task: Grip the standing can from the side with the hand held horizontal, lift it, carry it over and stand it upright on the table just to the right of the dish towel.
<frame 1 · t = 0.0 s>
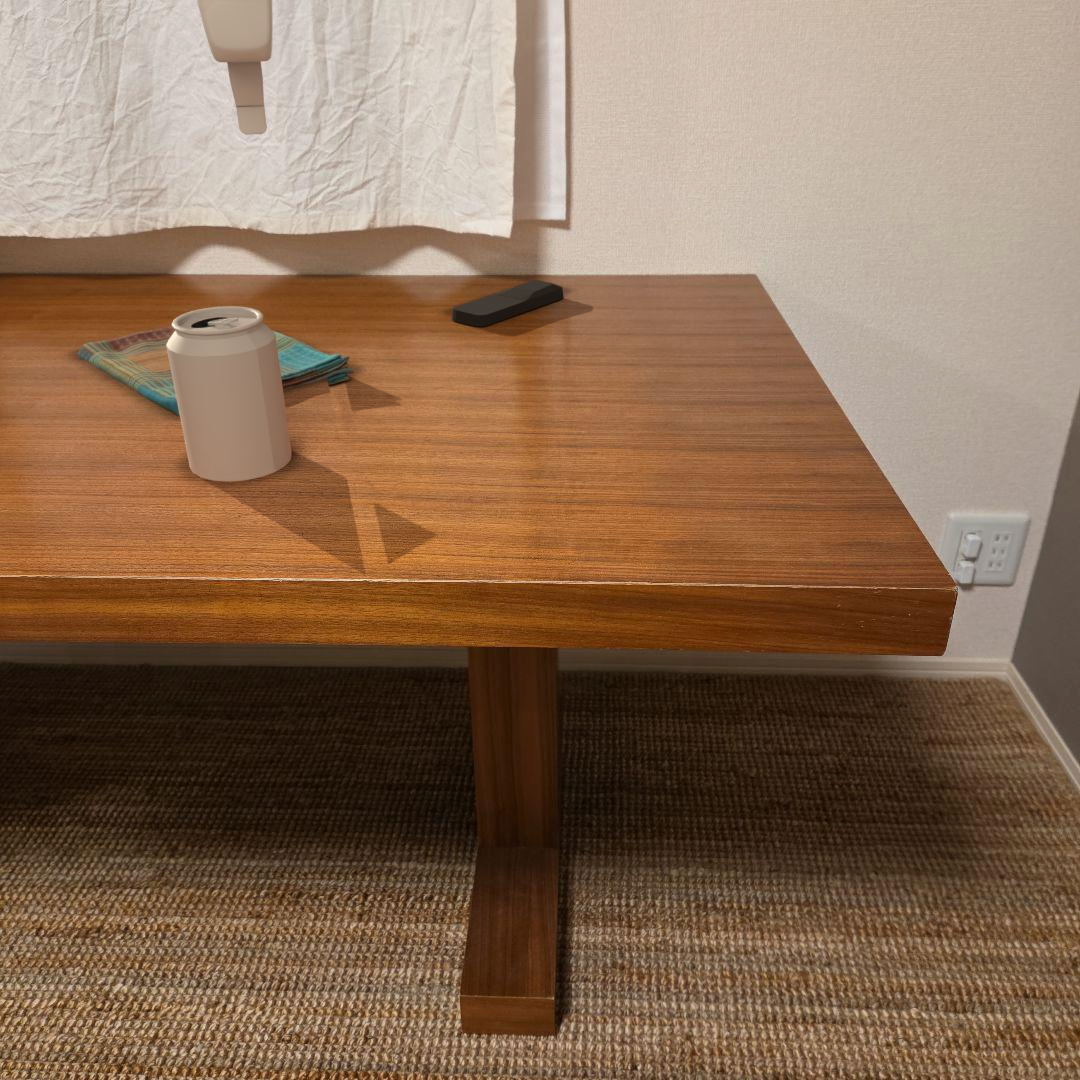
hand: (253, 125, 73), 24 cm above the table, tool pointing down, fingers open, 8 cm apart
dish towel: (212, 373, 96), on the table
can: (243, 473, 77), on the table
remote control: (509, 310, 114), on the table
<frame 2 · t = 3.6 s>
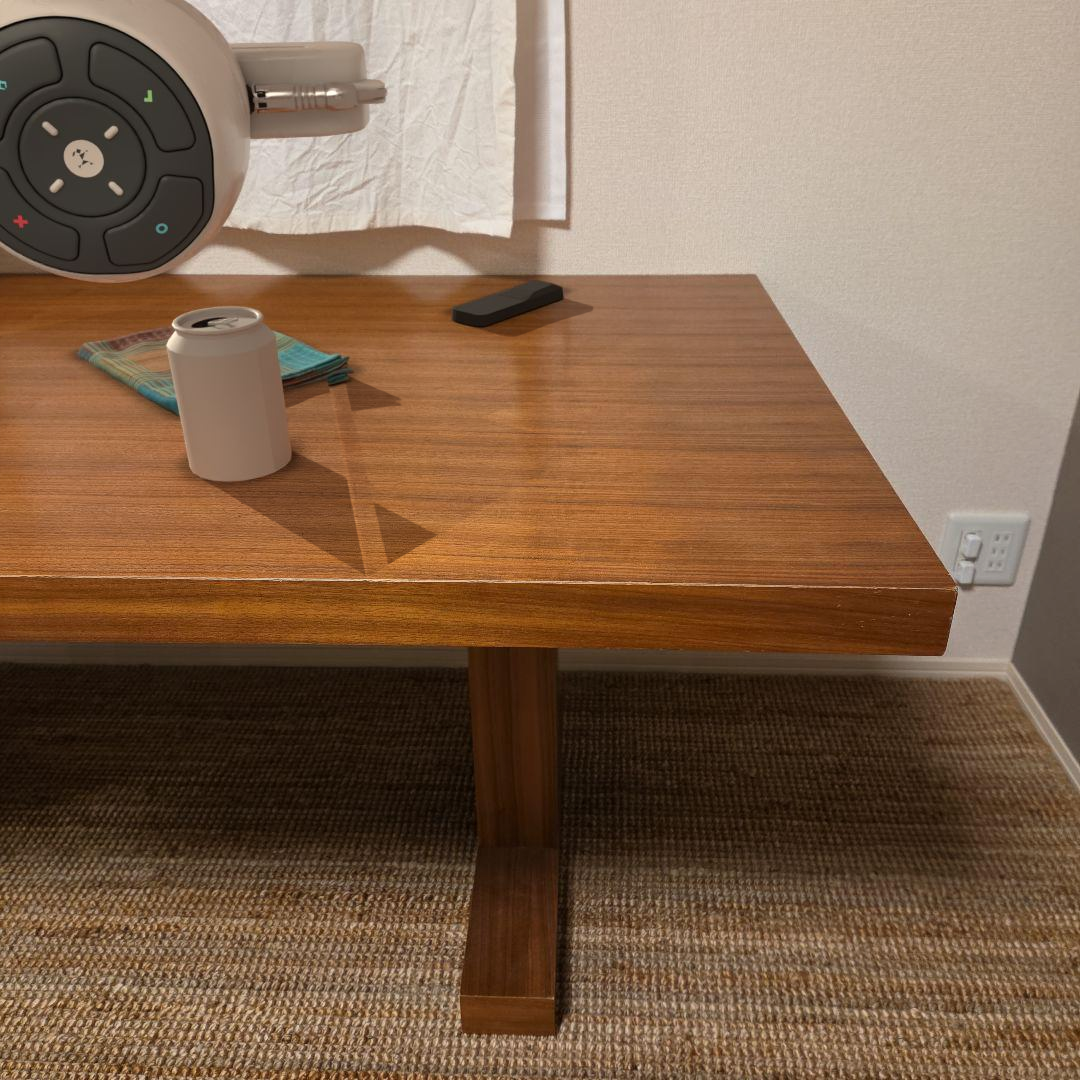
hand: (162, 79, 53), 28 cm above the table, tool horizontal, fingers open, 8 cm apart
nothing on the table moved.
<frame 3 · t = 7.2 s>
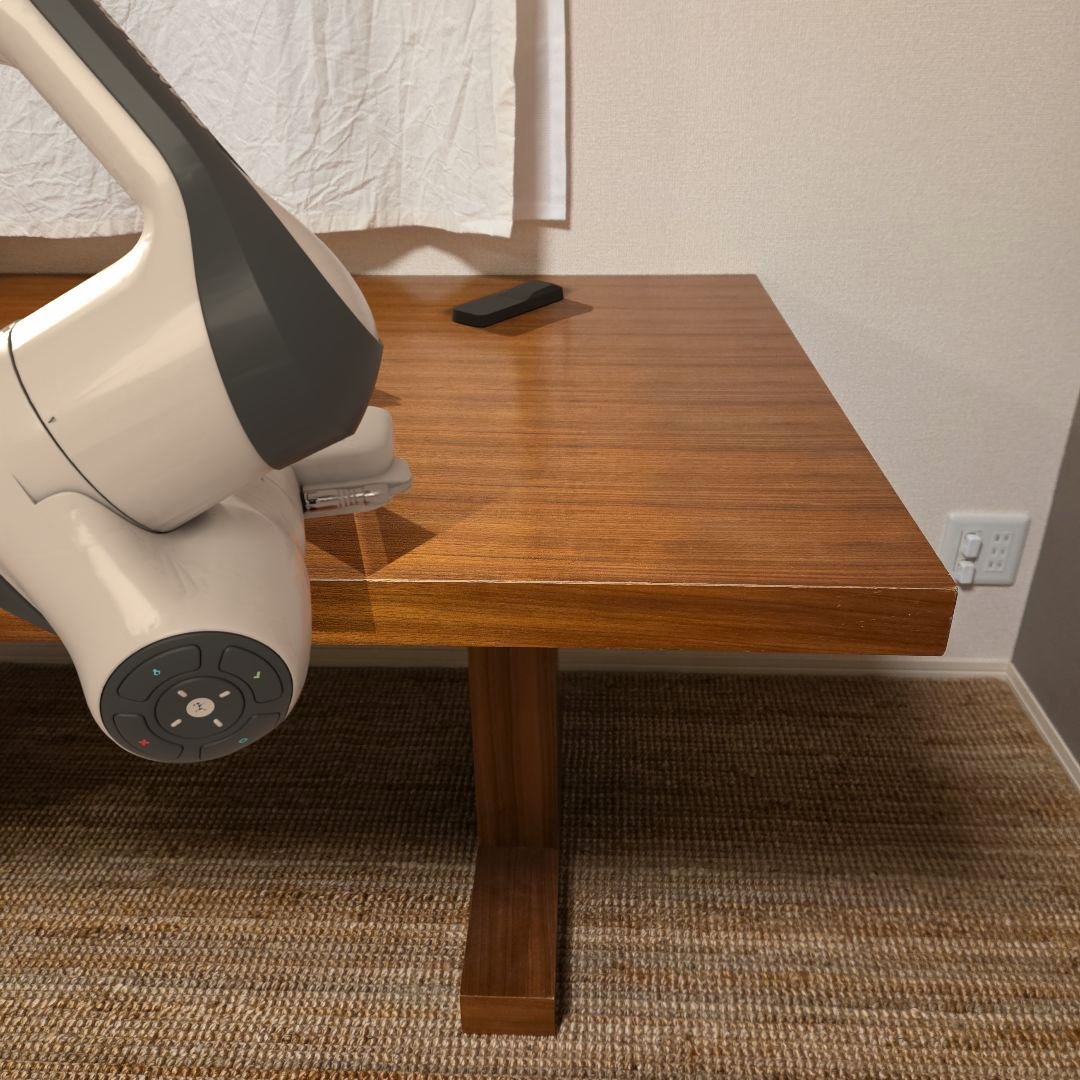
hand: (221, 417, 63), 9 cm above the table, tool horizontal, fingers open, 8 cm apart
nothing on the table moved.
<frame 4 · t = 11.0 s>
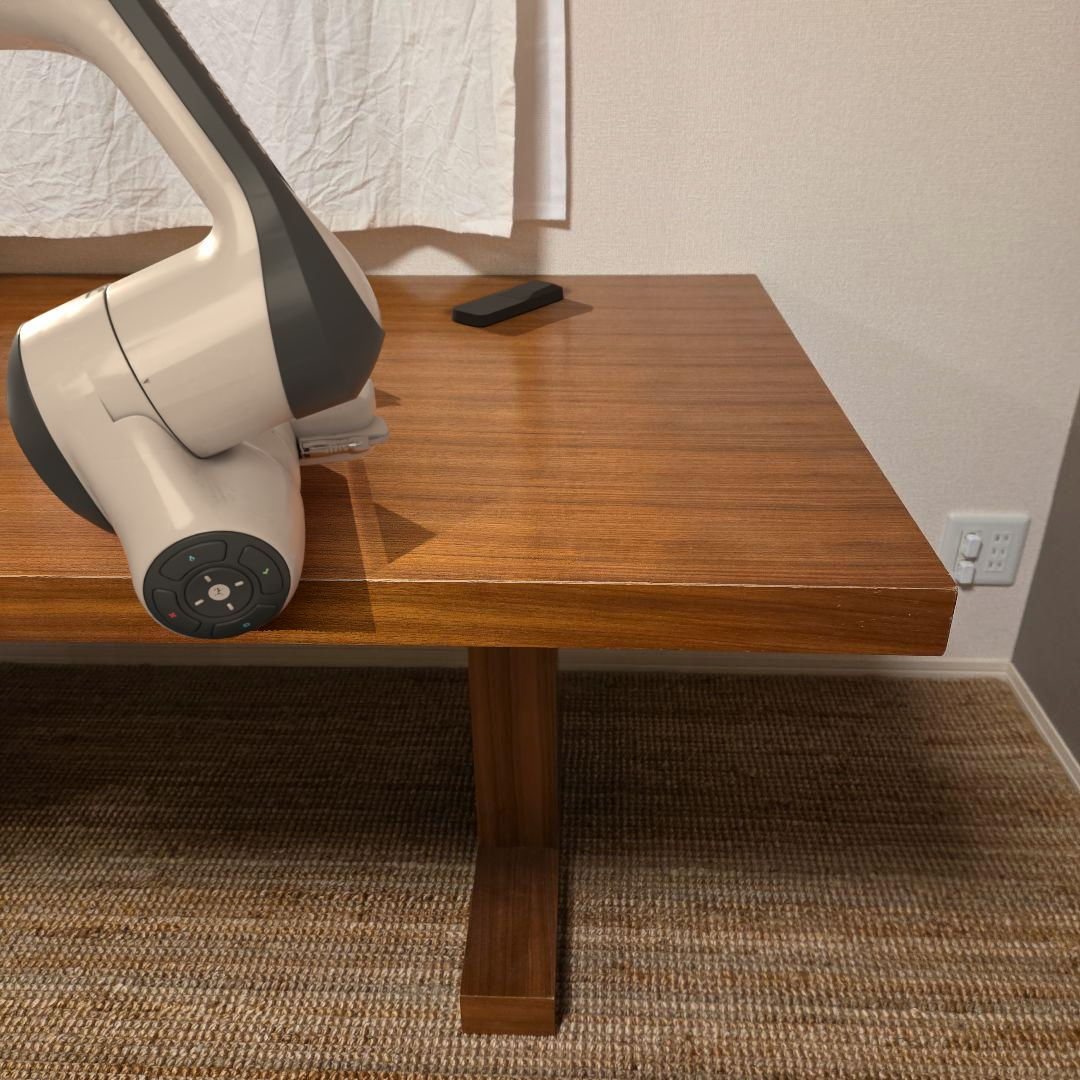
hand: (229, 386, 74), 6 cm above the table, tool horizontal, fingers closed on can, 7 cm apart
can: (244, 473, 77), on the table, touching gripper
everything else where it was.
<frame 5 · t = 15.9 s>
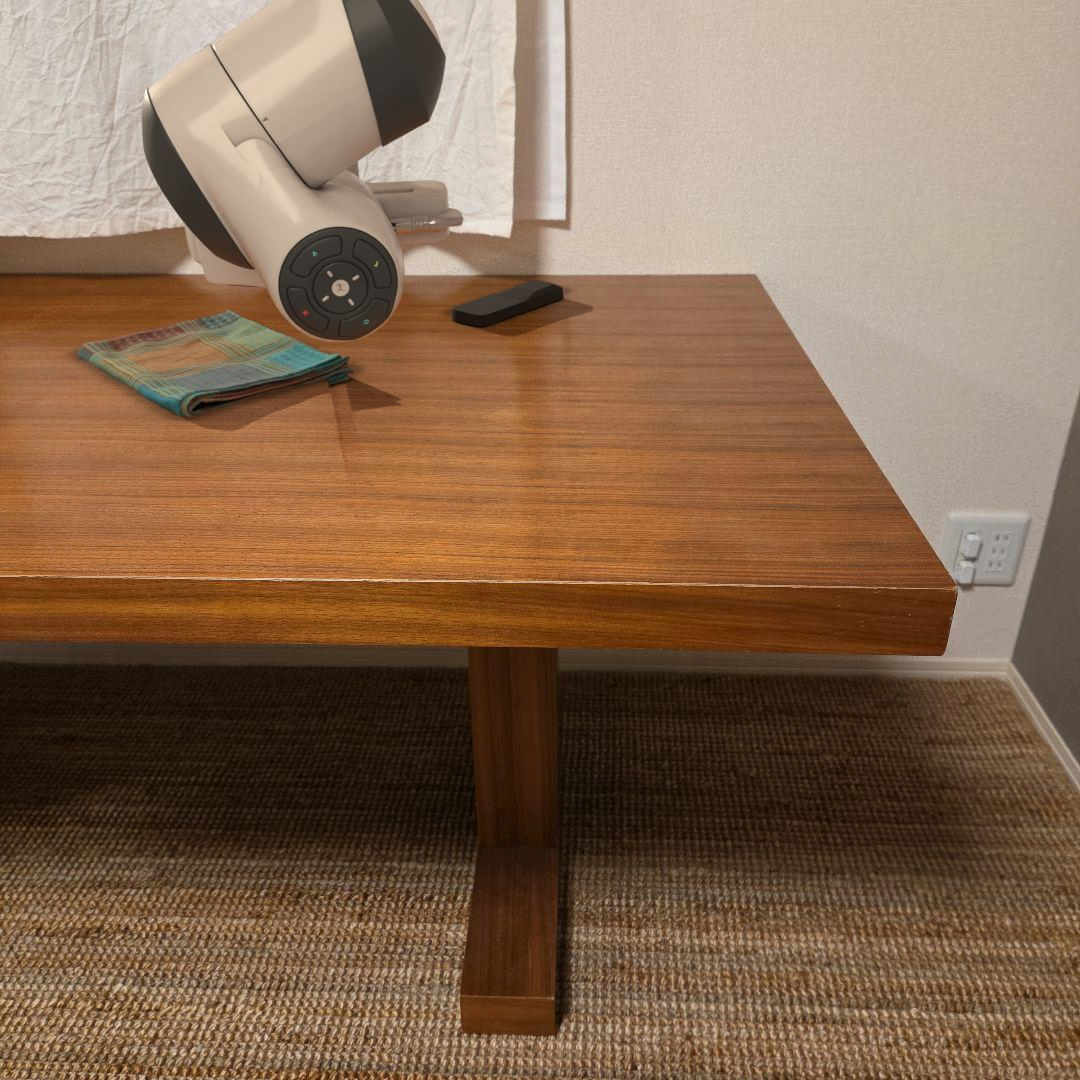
hand: (314, 197, 83), 17 cm above the table, tool horizontal, fingers closed on can, 7 cm apart
can: (324, 280, 86), point 10 cm above the table, touching gripper
everything else where it was.
when the fingers open (6 cm above the table, at t = 21.1 s): can stays where it is, on the table.
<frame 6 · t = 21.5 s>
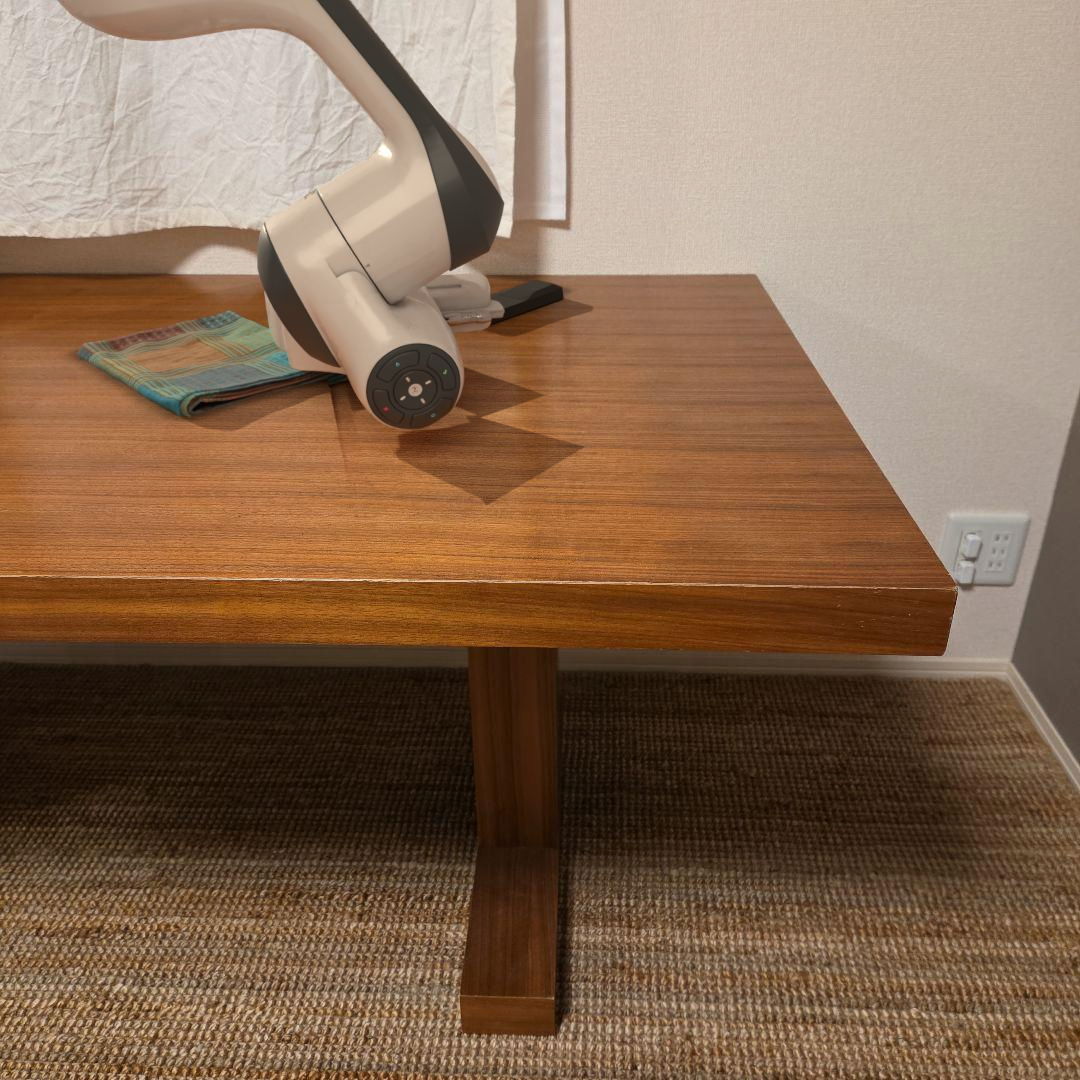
hand: (372, 284, 97), 7 cm above the table, tool horizontal, fingers open, 8 cm apart
can: (382, 358, 100), on the table
everything else where it was.
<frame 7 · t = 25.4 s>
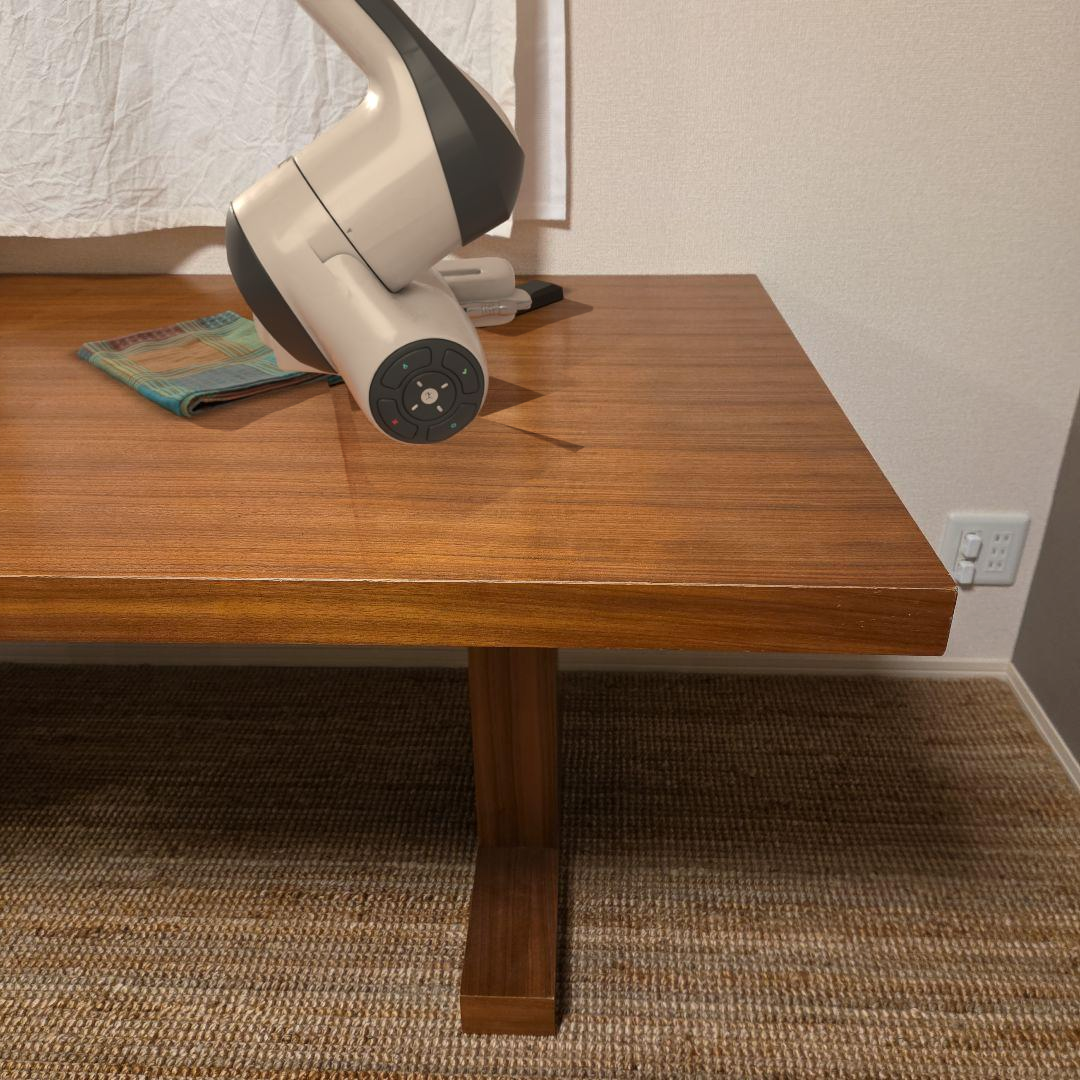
hand: (375, 271, 83), 12 cm above the table, tool horizontal, fingers open, 8 cm apart
nothing on the table moved.
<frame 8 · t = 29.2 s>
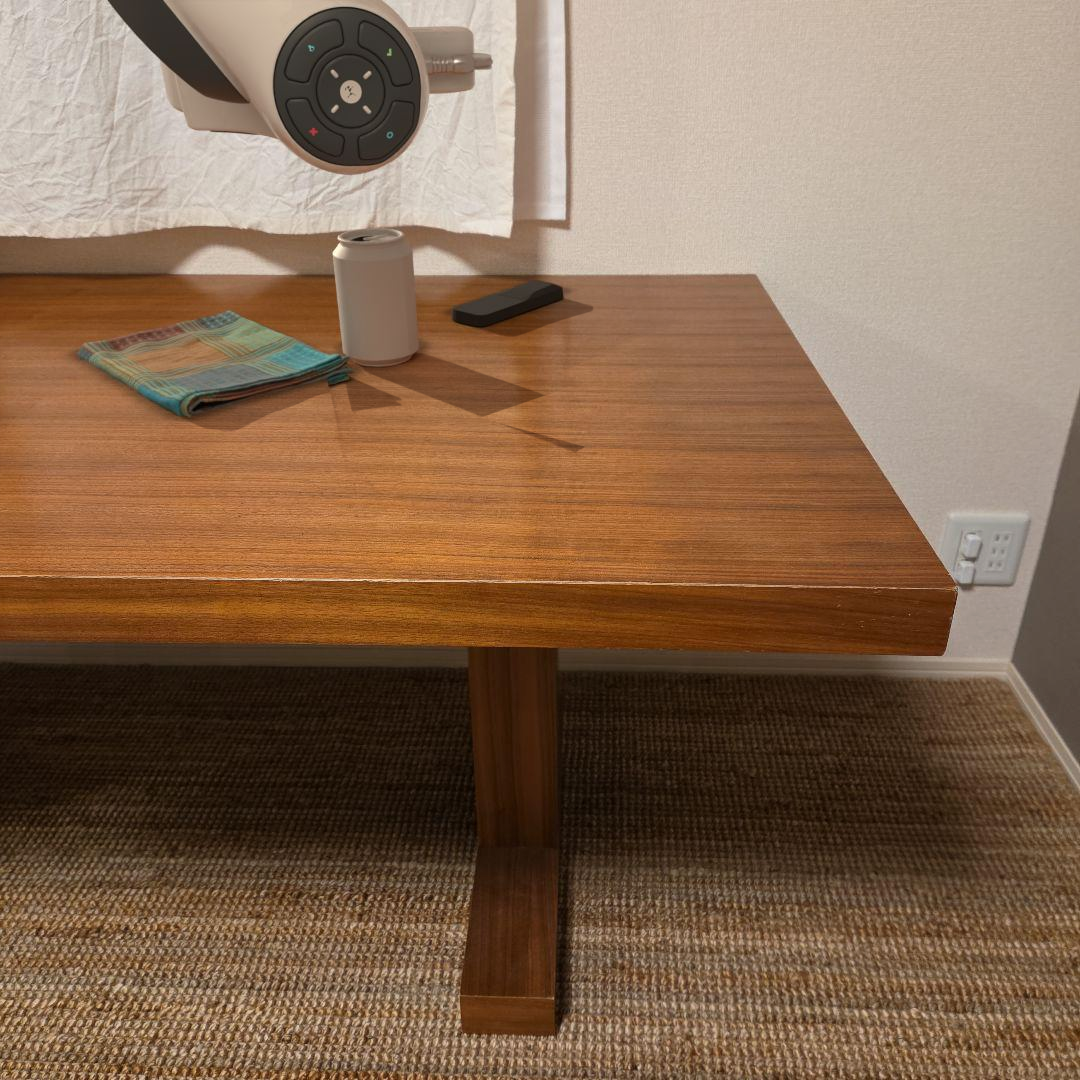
hand: (315, 54, 72), 28 cm above the table, tool horizontal, fingers open, 8 cm apart
nothing on the table moved.
at the end: can inside the target area on the table beside the dish towel (0.8 cm from its centre), on the table; can tilted 0°; the gripper is holding nothing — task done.
